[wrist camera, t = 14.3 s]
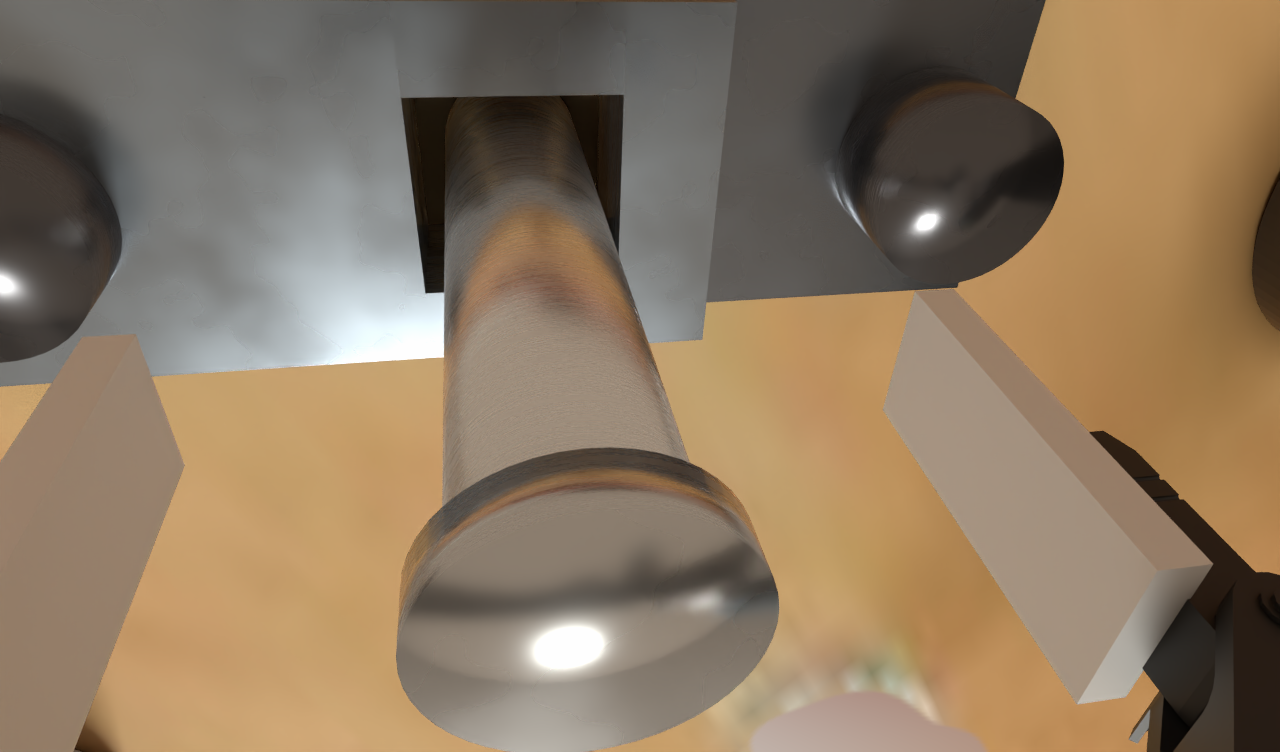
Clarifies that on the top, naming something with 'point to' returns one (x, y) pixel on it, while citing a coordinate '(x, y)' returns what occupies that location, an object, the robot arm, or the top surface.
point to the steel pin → (563, 477)
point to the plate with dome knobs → (479, 67)
